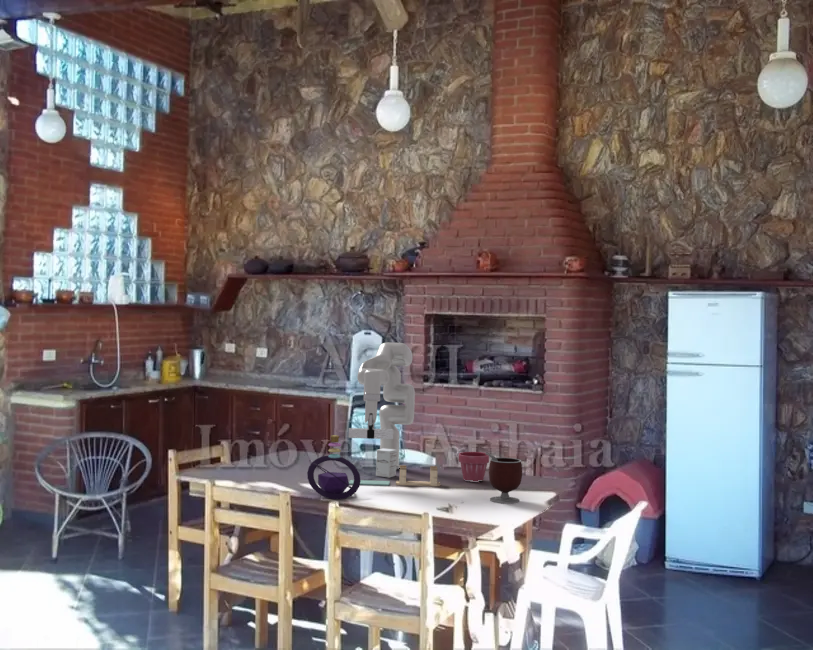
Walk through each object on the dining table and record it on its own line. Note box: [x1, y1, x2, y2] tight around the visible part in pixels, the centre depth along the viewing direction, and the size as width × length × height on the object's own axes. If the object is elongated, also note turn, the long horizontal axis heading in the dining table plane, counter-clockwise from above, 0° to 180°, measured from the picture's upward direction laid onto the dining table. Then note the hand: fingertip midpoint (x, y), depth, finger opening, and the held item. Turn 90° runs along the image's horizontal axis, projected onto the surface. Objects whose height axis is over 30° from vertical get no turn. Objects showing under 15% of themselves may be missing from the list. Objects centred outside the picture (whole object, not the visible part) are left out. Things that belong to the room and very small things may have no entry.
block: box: [347, 427, 393, 440], centre depth 397 cm, size 20×4×4 cm, turn 90°
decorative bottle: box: [307, 434, 361, 500], centre depth 369 cm, size 22×21×25 cm
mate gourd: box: [485, 452, 523, 505], centre depth 367 cm, size 16×14×20 cm
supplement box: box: [375, 448, 397, 479], centre depth 418 cm, size 7×7×13 cm
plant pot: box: [458, 451, 490, 481], centre depth 411 cm, size 14×14×13 cm
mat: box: [348, 479, 391, 487], centre depth 397 cm, size 8×18×1 cm, turn 90°
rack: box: [395, 464, 441, 487], centre depth 398 cm, size 6×20×8 cm, turn 90°
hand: (370, 437), depth 397 cm, fingers closed on block, 4 cm apart
